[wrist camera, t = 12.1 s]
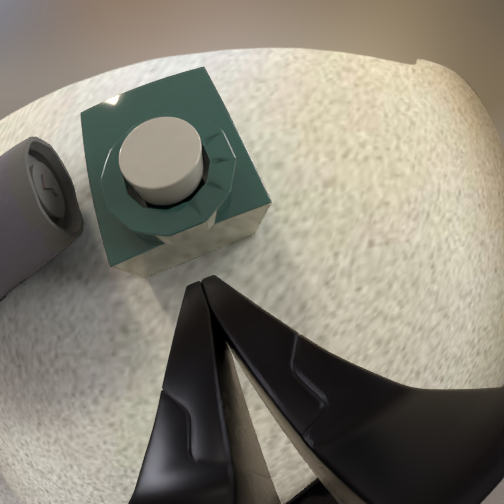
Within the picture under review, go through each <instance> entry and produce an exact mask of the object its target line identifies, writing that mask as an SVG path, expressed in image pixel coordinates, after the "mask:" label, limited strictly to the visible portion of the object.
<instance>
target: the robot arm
mask: <svg viewBox="0 0 504 504" xmlns="http://www.w3.org/2000/svg"><path fill="white" fill-rule="evenodd" d="M228 345H229V346H228ZM229 347H230V349H231V351H232V353H233V355H234V357H235V358H236V360H237V361H238V363H239V365H240V366H241V368H242V369H243V371H244V373H245V374H246V376H247V377H248V379H249V381H250V382H251V384H252V385H253V387H254V388H255V390H256V391H257V393H258V395H259V396H260V398H261V399H262V401H263V402H264V404H265V405H266V407H267V408H268V410H269V411H270V413H271V414H272V415H273V417H274V418H275V420H276V421H277V423H278V424H279V426H280V427H281V429H282V430H283V431H284V433H285V434H286V436H287V437H288V438H289V440H290V441H291V443H292V444H293V445H294V447H295V448H296V449H297V451H298V452H299V454H300V455H301V456H302V458H303V459H304V460H305V462H306V463H308V466H309V467H310V468H311V469H312V471H313V472H314V473H315V475H316V476H317V477H318V478H317V479H316V480H315V481H314V482H313V483H311V484H310V485H309V486H308V487H307V488H305V489H304V490H303V491H302V492H300V493H299V494H298V495H296V496H295V497H294V498H292V499H291V500H290V501H288V502H287V503H286V504H504V385H503V386H501V387H497V388H482V389H420V388H414V387H409V386H406V385H402V384H400V383H397V382H394V381H392V380H390V379H387V378H385V377H382V376H380V375H378V374H375V373H373V372H371V371H368V370H366V369H364V368H362V367H359V366H357V365H355V364H353V363H351V362H348V361H346V360H344V359H342V358H340V357H338V356H336V355H334V354H332V353H330V352H329V351H327V350H325V349H323V348H322V347H320V346H318V345H317V344H315V343H313V342H312V341H310V340H309V339H307V338H306V337H304V336H303V335H301V334H300V335H299V333H298V332H296V331H295V330H293V329H292V328H290V327H289V326H287V325H286V324H284V323H283V322H281V321H280V320H278V319H277V318H275V317H274V316H273V315H271V314H270V313H268V312H267V311H265V310H264V309H262V308H261V307H259V306H258V305H256V304H255V303H254V302H252V301H251V300H249V299H248V298H246V297H245V296H244V295H242V294H241V293H239V292H238V291H236V290H235V289H234V288H232V287H231V286H229V285H228V284H227V283H225V282H224V281H222V280H221V279H220V278H218V277H217V276H215V275H212V276H210V277H207V278H205V279H203V280H202V281H201V282H200V281H197V282H195V283H192V284H190V285H188V286H187V287H186V290H185V294H184V298H183V301H182V305H181V309H180V313H179V317H178V321H177V325H176V329H175V333H174V337H173V341H172V346H171V350H170V354H169V358H168V363H167V367H166V372H165V376H164V381H163V386H162V389H163V390H162V391H161V395H160V400H159V405H158V409H157V413H156V418H155V422H154V426H153V429H152V433H151V436H150V440H149V443H148V447H147V450H146V453H145V456H144V460H143V463H142V467H141V470H140V473H139V477H138V480H137V484H136V487H135V490H134V493H133V495H132V497H131V499H130V501H129V503H128V504H281V503H280V500H279V498H278V495H277V492H276V490H275V487H274V484H273V482H272V479H271V476H270V473H269V471H268V468H267V465H266V462H265V459H264V456H263V454H262V451H261V448H260V445H259V442H258V439H257V436H256V433H255V430H254V427H253V424H252V421H251V417H250V414H249V411H248V408H247V405H246V402H245V398H244V395H243V392H242V388H241V385H240V382H239V378H238V375H237V372H236V368H235V365H234V361H233V358H232V355H231V352H230V349H229Z"/></svg>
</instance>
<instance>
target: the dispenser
mask: <svg viewBox="0 0 504 504" xmlns="http://www.w3.org/2000/svg"><path fill="white" fill-rule="evenodd" d="M159 117H175V118H179V119H182V120H184V121H186V122H188V123H189V124H190V125H192V126H193V127H194V128H195V130H196V131H197V132H198V134H199V136H200V139H201V145H202V155H203V165H204V170H203V176H202V179H201V181H200V183H199V185H198V187H197V188H196V189H195V191H194V192H193V193H192V194H191V195H189V196H188V197H187V198H185V199H184V200H182V201H180V202H177V203H174V204H171V205H154V204H151V203H148V202H146V201H144V200H143V199H141V198H140V197H139V196H138V195H137V194H136V192H135V191H134V190H133V188H132V187H131V185H130V184H129V183H128V181H127V180H126V179H125V177H124V176H123V174H122V172H121V170H120V166H119V154H120V149H121V147H122V144H123V142H124V141H125V139H126V137H127V136H128V135H129V134H130V133H131V132H132V131H133V130H134V129H135V128H136V127H138V126H139V125H140V124H142V123H144V122H146V121H148V120H151V119H154V118H159ZM81 125H82V135H83V143H84V151H85V158H86V165H87V171H88V177H89V182H90V188H91V193H92V198H93V203H94V207H95V212H96V216H97V220H98V225H99V229H100V233H101V236H102V240H103V244H104V248H105V251H106V255H107V258H108V261H109V265H110V267H113V268H116V269H119V270H122V271H125V272H128V273H131V274H134V275H138V276H141V277H144V278H147V277H150V276H152V275H155V274H157V273H160V272H162V271H165V270H167V269H169V268H172V267H174V266H177V265H179V264H182V263H184V262H187V261H189V260H192V259H194V258H197V257H199V256H202V255H204V254H206V253H209V252H211V251H214V250H216V249H219V248H221V247H224V246H227V245H229V244H232V243H234V242H237V241H239V240H242V239H244V238H247V237H249V236H252V235H254V234H255V233H256V231H257V229H258V227H259V226H260V224H261V222H262V220H263V218H264V216H265V214H266V212H267V210H268V209H269V207H270V205H271V203H272V201H271V199H270V197H269V194H268V192H267V190H266V188H265V186H264V184H263V182H262V180H261V177H260V175H259V173H258V171H257V169H256V167H255V165H254V163H253V161H252V159H251V157H250V155H249V153H248V151H247V148H246V146H245V144H244V142H243V140H242V138H241V136H240V134H239V132H238V130H237V128H236V126H235V124H234V122H233V120H232V119H231V117H230V115H229V113H228V111H227V109H226V107H225V105H224V103H223V101H222V99H221V97H220V95H219V93H218V91H217V90H216V88H215V86H214V84H213V82H212V80H211V78H210V76H209V75H208V73H207V71H206V69H205V67H201V68H197V69H193V70H189V71H186V72H182V73H179V74H176V75H172V76H169V77H166V78H163V79H160V80H157V81H154V82H151V83H148V84H146V85H143V86H140V87H138V88H135V89H132V90H130V91H127V92H125V93H122V94H120V95H118V96H115V97H113V98H111V99H109V100H106V101H104V102H102V103H100V104H98V105H96V106H93V107H91V108H89V109H87V110H85V111H83V112H81Z"/></svg>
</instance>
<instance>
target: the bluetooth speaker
mask: <svg viewBox="0 0 504 504" xmlns="http://www.w3.org/2000/svg"><path fill="white" fill-rule="evenodd" d="M82 231H83V218H82V215H81V212H80V209H79V205H78V202H77V198H76V193H75V189H74V185H73V183H72V180H71V178H70V176H69V174H68V172H67V170H66V168H65V166H64V164H63V162H62V161H61V159H60V157H59V156H58V154H57V153H56V151H55V150H54V149H53V148H52V146H51V145H50V144H48V143H47V142H45V141H43V140H41V139H39V138H37V137H29V138H28V139H26V140H24V141H22V142H21V143H19V144H17V145H16V146H14V147H13V148H11V149H10V150H8V151H7V152H5V153H4V154H3V155H1V156H0V301H1V300H3V299H4V298H5V297H6V296H7V295H8V293H10V292H11V291H12V290H13V289H15V288H16V287H17V286H18V285H20V284H21V283H22V282H23V281H25V280H26V279H27V278H28V277H30V276H31V275H32V274H33V273H34V272H36V271H37V270H38V269H39V268H41V267H42V266H43V265H45V264H46V263H47V262H48V261H50V260H51V259H52V258H54V257H55V256H56V255H58V254H59V253H60V252H61V251H63V250H64V249H65V248H66V247H67V246H68V245H70V244H71V243H72V242H73V241H74V240H75V239H77V238H78V237H79V236H80V235H81V234H82Z"/></svg>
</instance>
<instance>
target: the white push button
mask: <svg viewBox="0 0 504 504" xmlns="http://www.w3.org/2000/svg"><path fill="white" fill-rule="evenodd" d="M119 166H120V170H121V172H122V174H123V176H124V177H125V179H126V180H127V181H128V183H129V184H130V185H131V187H132V188H133V190H134V191H135V192H136V194H137V195H138V196H139V197H140V198H141V199H143V200H144V201H146V202H148V203H151V204H154V205H171V204H174V203H177V202H180V201H182V200H184V199H185V198H187V197H188V196H189V195H191V194H192V193H193V192H194V191H195V189H196V188H197V187H198V185H199V183H200V181H201V179H202V176H203V170H204V165H203V155H202V145H201V139H200V136H199V134H198V132H197V131H196V130H195V128H194V127H193V126H192V125H190V124H189V123H188V122H186V121H184V120H182V119H179V118H175V117H159V118H154V119H151V120H148V121H146V122H144V123H142V124H140V125H139V126H138V127H136V128H135V129H134V130H133V131H132V132H131V133H130V134H129V135H128V136H127V137H126V139H125V141H124V142H123V144H122V147H121V149H120V154H119Z"/></svg>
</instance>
